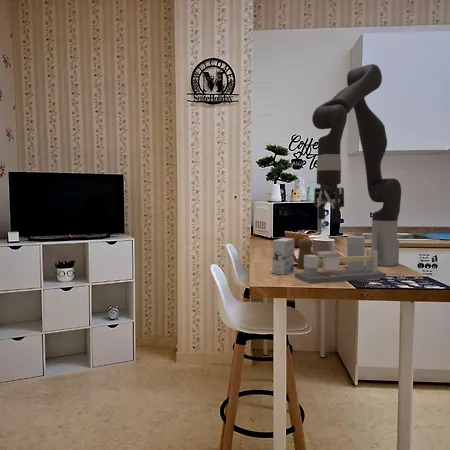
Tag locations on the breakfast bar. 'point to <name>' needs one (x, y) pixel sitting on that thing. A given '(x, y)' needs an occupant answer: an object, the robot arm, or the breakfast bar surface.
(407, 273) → the breakfast bar surface
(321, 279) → the cable board
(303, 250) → the olive pawn shape
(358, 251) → the skincare box
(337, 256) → the sleeve
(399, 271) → the breakfast bar surface
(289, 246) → the ink box
